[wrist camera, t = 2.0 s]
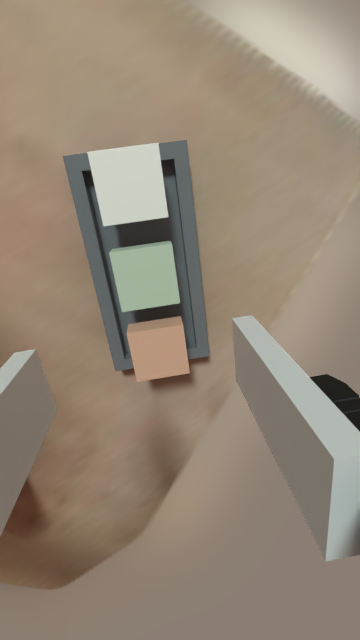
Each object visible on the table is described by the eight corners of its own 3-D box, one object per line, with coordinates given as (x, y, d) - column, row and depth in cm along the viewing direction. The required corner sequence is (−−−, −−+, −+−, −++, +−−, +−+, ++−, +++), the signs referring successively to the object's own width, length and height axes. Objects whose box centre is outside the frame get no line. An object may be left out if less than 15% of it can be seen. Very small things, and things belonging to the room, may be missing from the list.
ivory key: (96, 159, 24) (87, 151, 21) (157, 151, 24) (158, 142, 21) (109, 223, 26) (103, 226, 23) (166, 215, 26) (168, 217, 23)
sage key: (114, 246, 27) (109, 252, 23) (169, 238, 27) (172, 243, 23) (125, 299, 29) (121, 312, 25) (176, 291, 29) (180, 303, 25)
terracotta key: (129, 318, 29) (126, 333, 26) (179, 310, 30) (183, 324, 26) (138, 362, 31) (137, 381, 28) (185, 354, 31) (189, 373, 28)
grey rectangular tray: (70, 160, 26) (62, 156, 24) (183, 145, 26) (186, 139, 24) (117, 359, 33) (115, 371, 31) (205, 345, 34) (209, 356, 31)
